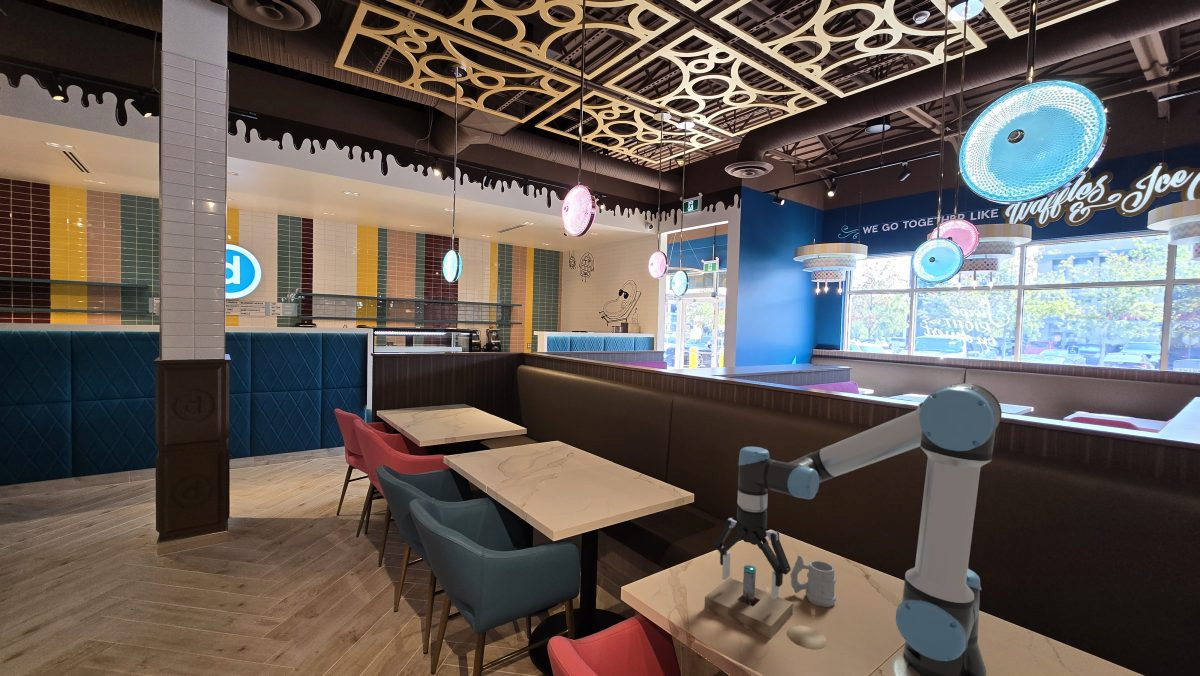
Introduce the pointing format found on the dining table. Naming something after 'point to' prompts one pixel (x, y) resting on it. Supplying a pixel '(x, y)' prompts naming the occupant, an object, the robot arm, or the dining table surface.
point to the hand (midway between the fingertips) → (749, 587)
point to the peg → (749, 585)
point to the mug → (815, 582)
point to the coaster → (806, 637)
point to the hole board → (749, 608)
